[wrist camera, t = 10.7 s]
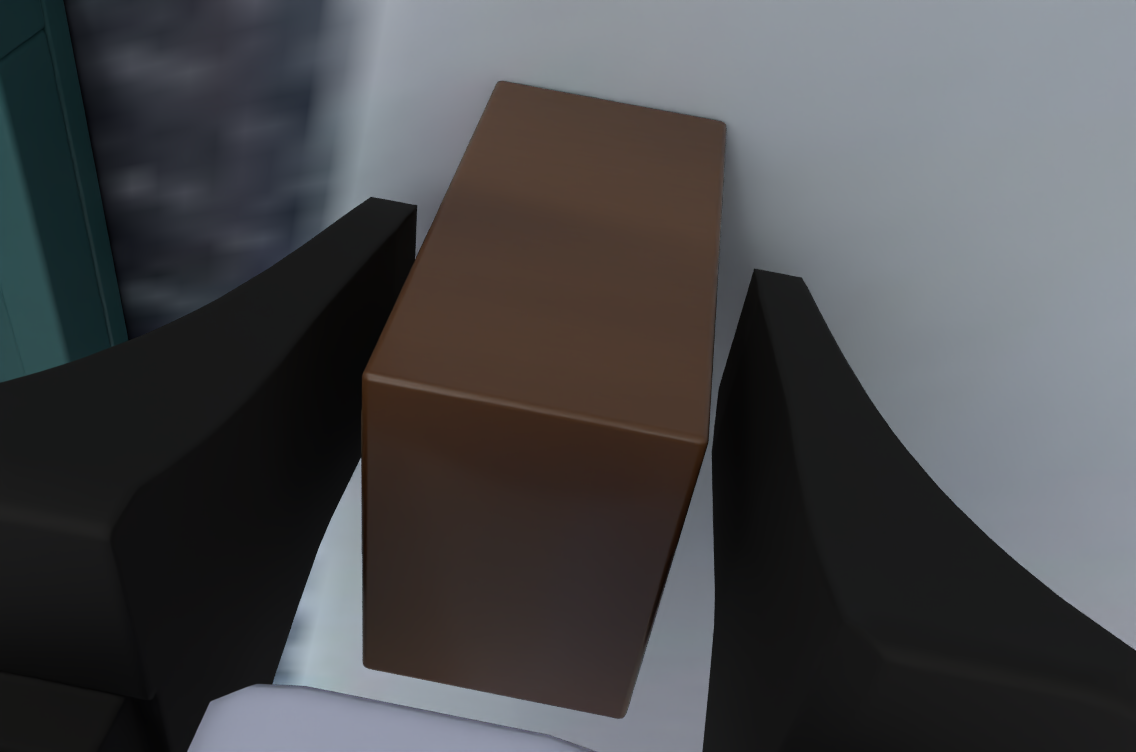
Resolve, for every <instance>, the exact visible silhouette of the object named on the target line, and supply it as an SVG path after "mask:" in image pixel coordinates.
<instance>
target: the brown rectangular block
mask: <svg viewBox="0 0 1136 752" xmlns="http://www.w3.org/2000/svg"><path fill="white" fill-rule="evenodd" d="M726 131H727V128H726V124H725V123H724V122H722V121H717V120H711V119H706V118H700V117H695V116H690V115H684V114H679V113H673V112H668V111H662V110H657V109H652V108H646V107H641V106H635V105H630V104H625V103H619V102H614V101H608V100H603V99H597V98H592V97H587V96H581V95H576V94H570V93H565V92H559V91H554V90H549V89H543V88H538V87H532V86H527V85H522V84H516V83H511V82H505V81H499V82H497V84H496V86H495V88H494V90H493V92H492V94H491V96H490V99H489V101H488V103H487V105H486V107H485V109H484V112H483V114H482V116H481V118H480V120H479V122H478V125H477V127H476V129H475V131H474V133H473V135H472V138H471V140H470V142H469V144H468V146H467V148H466V151H465V153H464V155H463V157H462V159H461V162H460V164H459V166H458V168H457V170H456V172H455V175H454V177H453V179H452V181H451V183H450V185H449V188H448V190H447V192H446V194H445V196H444V198H443V201H442V203H441V205H440V207H439V209H438V211H437V214H436V216H435V218H434V220H433V222H432V224H431V227H430V229H429V231H428V233H427V235H426V237H425V240H424V242H423V244H422V246H421V248H420V250H419V253H418V255H417V257H416V259H415V261H414V263H413V266H412V268H411V270H410V272H409V274H408V276H407V279H406V281H405V283H404V285H403V287H402V289H401V292H400V294H399V296H398V298H397V300H396V303H395V305H394V307H393V309H392V311H391V313H390V316H389V318H388V320H387V322H386V324H385V326H384V329H383V331H382V333H381V335H380V337H379V339H378V342H377V344H376V346H375V348H374V350H373V352H372V355H371V357H370V359H369V361H368V363H367V365H366V368H365V370H364V372H363V374H362V410H361V473H362V610H363V665H364V667H366V668H368V669H372V670H377V671H382V672H387V673H392V674H397V675H402V676H407V677H412V678H417V679H422V680H427V681H432V682H437V683H442V684H447V685H452V686H457V687H462V688H467V689H472V690H477V691H482V692H487V693H492V694H497V695H502V696H507V697H512V698H517V699H522V700H527V701H532V702H537V703H542V704H547V705H552V706H557V707H562V708H567V709H572V710H577V711H582V712H587V713H592V714H597V715H602V716H607V717H612V718H617V719H620V718H623V717H624V716H625V715H626V713H627V710H628V707H629V704H630V700H631V697H632V694H633V690H634V687H635V684H636V680H637V677H638V674H639V670H640V667H641V664H642V661H643V657H644V654H645V651H646V647H647V644H648V641H649V637H650V634H651V631H652V627H653V624H654V621H655V618H656V614H657V611H658V608H659V604H660V601H661V598H662V594H663V591H664V588H665V584H666V581H667V578H668V575H669V571H670V568H671V565H672V561H673V558H674V555H675V551H676V548H677V545H678V541H679V538H680V535H681V531H682V528H683V525H684V522H685V518H686V515H687V512H688V508H689V505H690V502H691V498H692V495H693V492H694V488H695V485H696V482H697V479H698V475H699V472H700V469H701V465H702V462H703V459H704V455H705V452H706V449H707V445H708V441H709V424H710V406H711V389H712V372H713V355H714V338H715V320H716V303H717V286H718V269H719V251H720V234H721V217H722V200H723V183H724V165H725V148H726Z"/></svg>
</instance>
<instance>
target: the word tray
mask: <svg viewBox="0 0 1136 752" xmlns="http://www.w3.org/2000/svg"><path fill="white" fill-rule="evenodd" d="M126 341H128V335H127V330H126V325H125V320H124V314H123V309H122V304H121V299H120V294H119V288H118V283H117V278H116V273H115V268H114V262H113V257H112V252H111V247H110V241H109V236H108V231H107V226H106V221H105V215H104V210H103V205H102V200H101V194H100V189H99V184H98V179H97V174H96V168H95V163H94V158H93V153H92V147H91V142H90V137H89V132H88V127H87V121H86V116H85V111H84V106H83V101H82V95H81V90H80V85H79V80H78V74H77V69H76V64H75V59H74V54H73V48H72V43H71V38H70V33H69V27H68V22H67V17H66V12H65V7H64V1H63V0H0V383H1V382H4V381H8V380H12V379H15V378H19V377H22V376H26V375H30V374H33V373H37V372H40V371H43V370H47V369H50V368H53V367H56V366H60V365H63V364H66V363H69V362H72V361H75V360H78V359H81V358H84V357H86V356H89V355H92V354H94V353H97V352H100V351H102V350H105V349H107V348H110V347H113V346H115V345H118V344H121V343H123V342H126Z"/></svg>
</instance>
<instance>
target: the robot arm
mask: <svg viewBox="0 0 1136 752" xmlns="http://www.w3.org/2000/svg"><path fill="white" fill-rule="evenodd" d="M416 222H417V205H412V204H407V203H401V202H396V201H391V200H385V199H380V198H375V197H370V198H369V199H367V200H366V201H364V202H363V203H362V204H360V205H359V206H357V207H356V208H354V209H353V210H351V211H350V212H348V213H347V214H346V215H344V216H343V217H342V218H340V219H339V220H337V221H336V222H335V223H333V224H332V225H330V226H329V227H328V228H326V229H325V230H324V231H322V232H321V233H319V234H318V235H317V236H315V237H314V238H312V239H311V240H310V241H308V242H307V243H305V244H304V245H303V246H301V247H300V248H298V249H297V250H295V251H294V252H292V253H291V254H289V255H288V256H286V257H285V258H283V259H282V260H280V261H279V262H278V263H276V264H275V265H273V266H272V267H270V268H269V269H267V270H265V271H264V272H262V273H260V274H259V275H257V276H255V277H254V278H252V279H250V280H249V281H247V282H245V283H244V284H242V285H240V286H239V287H237V288H235V289H234V290H232V291H230V292H229V293H227V294H225V295H224V296H222V297H220V298H219V299H217V300H215V301H213V302H211V303H209V304H207V305H206V306H204V307H202V308H200V309H198V310H196V311H194V312H192V313H190V314H188V315H186V316H184V317H181V318H179V319H177V320H175V321H173V322H171V323H169V324H166V325H164V326H162V327H160V328H158V329H156V330H153V331H151V332H149V333H146V334H144V335H142V336H139V337H136V338H134V339H131V340H129V341H126V342H123V343H121V344H118V345H115V346H113V347H110V348H107V349H105V350H102V351H100V352H97V353H94V354H92V355H89V356H86V357H84V358H81V359H78V360H75V361H72V362H69V363H66V364H63V365H60V366H56V367H53V368H50V369H47V370H43V371H40V372H37V373H33V374H30V375H26V376H22V377H19V378H15V379H12V380H8V381H4V382H1V383H0V752H596V751H593V750H590V749H588V748H585V747H582V746H579V745H576V744H573V743H571V742H568V741H565V740H562V739H559V738H557V737H554V736H551V735H547V734H542V733H537V732H532V731H527V730H522V729H517V728H512V727H507V726H502V725H497V724H492V723H487V722H482V721H477V720H472V719H467V718H462V717H457V716H452V715H447V714H442V713H437V712H432V711H428V710H423V709H418V708H413V707H408V706H403V705H398V704H393V703H388V702H383V701H378V700H373V699H368V698H363V697H358V696H353V695H348V694H343V693H338V692H333V691H328V690H323V689H318V688H313V687H308V686H293V685H272V683H273V680H274V677H275V674H276V671H277V668H278V665H279V662H280V659H281V656H282V653H283V650H284V647H285V644H286V641H287V638H288V635H289V632H290V629H291V626H292V623H293V620H294V617H295V614H296V611H297V608H298V605H299V602H300V599H301V596H302V594H303V591H304V588H305V585H306V582H307V580H308V577H309V574H310V571H311V568H312V565H313V563H314V560H315V557H316V554H317V551H318V548H319V546H320V543H321V541H322V539H323V536H324V534H325V532H326V529H327V527H328V525H329V522H330V520H331V518H332V516H333V514H334V512H335V510H336V508H337V505H338V503H339V501H340V499H341V497H342V495H343V493H344V491H345V489H346V487H347V485H348V483H349V481H350V479H351V477H352V475H353V473H354V471H355V469H356V466H357V464H358V462H359V460H360V458H361V410H362V374H363V372H364V370H365V368H366V365H367V363H368V361H369V359H370V357H371V355H372V352H373V350H374V348H375V346H376V344H377V342H378V339H379V337H380V335H381V333H382V331H383V329H384V326H385V324H386V322H387V320H388V318H389V316H390V313H391V311H392V309H393V307H394V305H395V303H396V300H397V298H398V296H399V294H400V292H401V289H402V287H403V285H404V283H405V281H406V279H407V276H408V274H409V272H410V270H411V268H412V266H413V263H414V261H415V248H416ZM712 493H713V535H714V575H715V612H714V633H713V644H712V656H711V668H710V679H709V691H708V701H707V711H706V722H705V732H704V742H703V752H1136V650H1134V649H1133V648H1131V647H1130V646H1128V645H1127V644H1126V643H1124V642H1123V641H1121V640H1120V639H1118V638H1117V637H1116V636H1114V635H1113V634H1111V633H1110V632H1109V631H1107V630H1106V629H1104V628H1103V627H1101V626H1100V625H1099V624H1097V623H1096V622H1094V621H1093V620H1092V619H1090V618H1089V617H1087V616H1086V615H1084V614H1083V613H1082V612H1080V611H1079V610H1077V609H1076V608H1075V607H1073V606H1072V605H1070V604H1069V603H1067V602H1066V601H1065V600H1063V599H1062V598H1061V597H1059V596H1058V595H1057V594H1056V593H1054V592H1053V591H1052V590H1051V589H1049V588H1048V587H1047V586H1046V585H1045V584H1043V583H1042V582H1041V581H1040V580H1038V579H1037V578H1036V577H1035V576H1033V575H1032V574H1031V573H1030V572H1029V571H1027V570H1026V569H1025V568H1024V567H1022V566H1021V565H1020V564H1019V563H1018V562H1016V561H1015V560H1014V559H1013V558H1012V557H1011V556H1010V555H1008V554H1007V553H1006V552H1005V551H1004V550H1003V549H1002V548H1000V547H999V546H998V545H997V544H996V543H995V542H994V541H993V540H992V539H990V538H989V537H988V536H987V535H986V534H985V533H984V532H983V531H982V530H981V529H980V528H979V527H978V526H977V525H976V524H975V523H974V522H973V521H972V520H971V519H970V518H969V517H968V516H967V515H966V514H965V513H964V512H963V511H962V510H961V509H960V508H958V507H957V506H956V505H955V503H954V502H953V501H952V500H951V499H950V498H949V497H948V496H947V495H946V494H945V493H944V492H943V491H942V490H941V489H940V488H939V487H938V485H937V484H936V483H935V482H934V481H933V480H932V479H931V477H930V476H929V475H928V474H927V473H926V472H925V470H924V469H923V468H922V467H921V466H920V465H919V463H918V462H917V461H916V460H915V459H914V458H913V456H912V455H911V454H910V453H909V452H908V450H907V449H906V448H905V447H904V445H903V444H902V443H901V442H900V440H899V439H898V438H897V436H896V435H895V434H894V432H893V431H892V430H891V428H890V427H889V426H888V424H887V423H886V421H885V420H884V418H883V417H882V416H881V414H880V413H879V411H878V410H877V409H876V407H875V406H874V404H873V402H872V401H871V399H870V398H869V396H868V395H867V393H866V392H865V390H864V388H863V387H862V385H861V384H860V382H859V380H858V379H857V377H856V375H855V374H854V372H853V370H852V369H851V367H850V365H849V364H848V362H847V360H846V359H845V357H844V355H843V353H842V352H841V350H840V348H839V346H838V345H837V343H836V341H835V339H834V337H833V335H832V334H831V332H830V330H829V328H828V326H827V324H826V322H825V320H824V319H823V317H822V315H821V313H820V311H819V309H818V307H817V305H816V303H815V301H814V299H813V297H812V295H811V293H810V291H809V289H808V287H807V286H806V284H805V282H804V281H803V279H802V278H801V277H796V276H790V275H785V274H780V273H774V272H769V271H764V270H758V269H754V272H753V275H752V278H751V282H750V285H749V288H748V292H747V295H746V298H745V302H744V305H743V309H742V312H741V315H740V319H739V322H738V325H737V329H736V332H735V335H734V339H733V342H732V346H731V349H730V352H729V356H728V359H727V362H726V366H725V369H724V372H723V376H722V379H721V383H720V386H719V391H718V400H717V408H716V417H715V426H714V436H713V446H712Z"/></svg>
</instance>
